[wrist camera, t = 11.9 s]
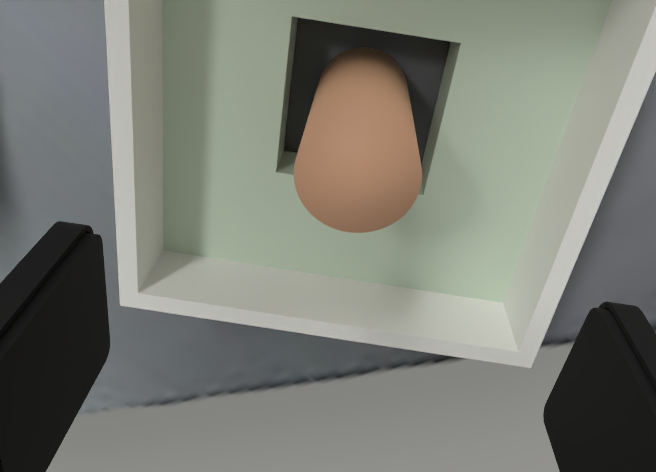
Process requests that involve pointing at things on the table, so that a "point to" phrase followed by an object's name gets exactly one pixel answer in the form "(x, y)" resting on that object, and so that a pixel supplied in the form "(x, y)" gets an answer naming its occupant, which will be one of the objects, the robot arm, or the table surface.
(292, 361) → the table surface
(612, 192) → the table surface
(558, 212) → the holed box
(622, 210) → the table surface
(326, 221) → the peg
